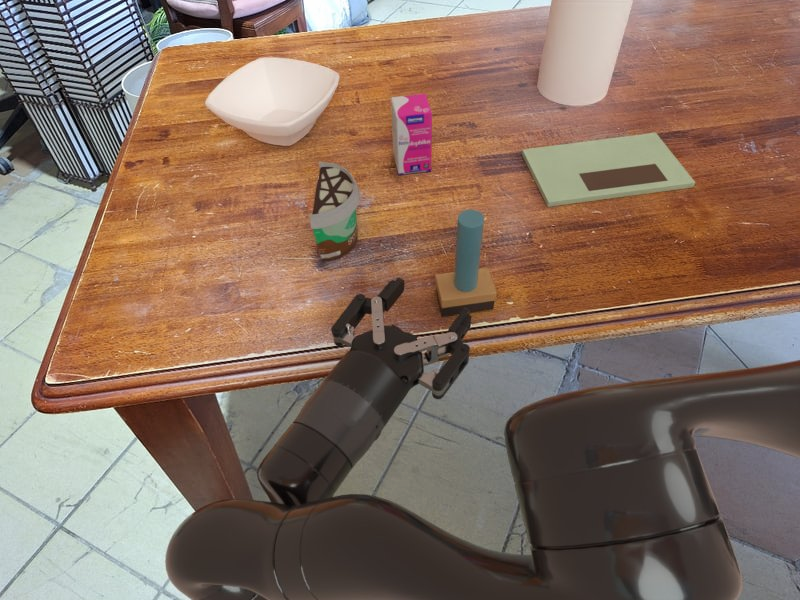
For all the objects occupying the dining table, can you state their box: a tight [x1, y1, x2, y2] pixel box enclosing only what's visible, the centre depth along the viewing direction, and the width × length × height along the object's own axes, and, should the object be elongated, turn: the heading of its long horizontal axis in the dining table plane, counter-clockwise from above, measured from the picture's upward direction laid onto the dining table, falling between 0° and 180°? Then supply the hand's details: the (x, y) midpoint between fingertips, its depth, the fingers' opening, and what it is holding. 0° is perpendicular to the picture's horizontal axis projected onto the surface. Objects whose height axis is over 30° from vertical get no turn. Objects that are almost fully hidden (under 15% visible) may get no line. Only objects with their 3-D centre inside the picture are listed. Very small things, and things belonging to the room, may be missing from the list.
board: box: [521, 132, 696, 208], centre depth 87 cm, size 24×14×1 cm, turn 99°
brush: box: [434, 209, 498, 318], centre depth 66 cm, size 7×5×15 cm, turn 99°
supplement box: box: [390, 93, 433, 176], centre depth 86 cm, size 6×6×12 cm
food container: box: [308, 161, 361, 263], centre depth 76 cm, size 12×6×10 cm, turn 179°
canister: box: [536, 0, 634, 107], centre depth 96 cm, size 14×14×20 cm
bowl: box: [204, 56, 340, 147], centre depth 95 cm, size 21×21×9 cm
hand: (433, 297), depth 60 cm, fingers open, 8 cm apart
